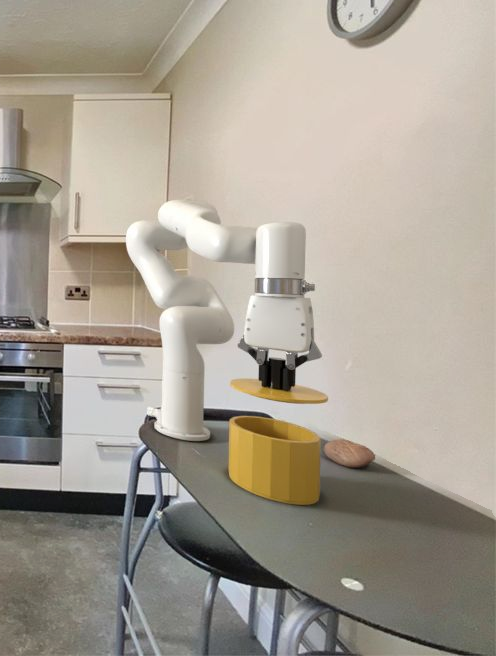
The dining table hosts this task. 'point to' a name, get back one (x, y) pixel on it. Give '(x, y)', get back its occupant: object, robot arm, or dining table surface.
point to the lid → (278, 387)
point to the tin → (275, 459)
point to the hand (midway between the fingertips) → (276, 386)
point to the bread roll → (348, 453)
